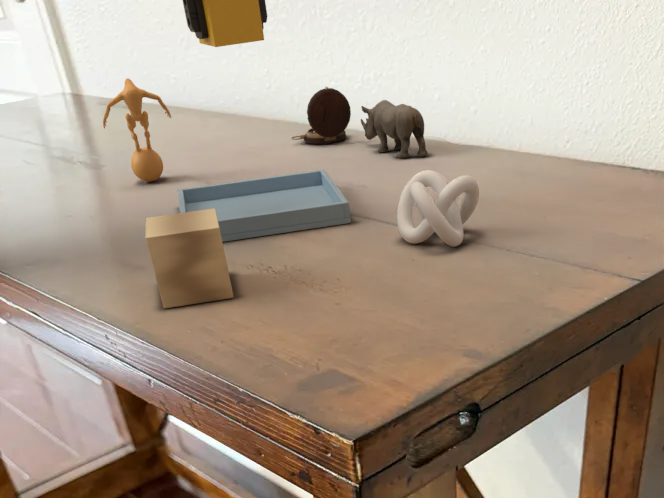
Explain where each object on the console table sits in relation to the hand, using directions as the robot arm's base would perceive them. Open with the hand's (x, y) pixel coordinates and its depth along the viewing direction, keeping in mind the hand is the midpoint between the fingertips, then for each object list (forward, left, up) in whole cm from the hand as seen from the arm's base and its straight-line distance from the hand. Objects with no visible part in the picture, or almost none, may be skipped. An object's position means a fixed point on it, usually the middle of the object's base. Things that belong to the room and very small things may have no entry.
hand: (229, 33), depth 79 cm
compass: (+12, +33, -17) cm, 39 cm away
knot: (+16, -17, -17) cm, 29 cm away
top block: (0, 0, -1) cm, 1 cm away
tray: (0, 0, -17) cm, 17 cm away
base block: (-8, -21, -17) cm, 28 cm away
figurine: (-12, +22, -17) cm, 31 cm away
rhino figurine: (+20, +22, -17) cm, 35 cm away
